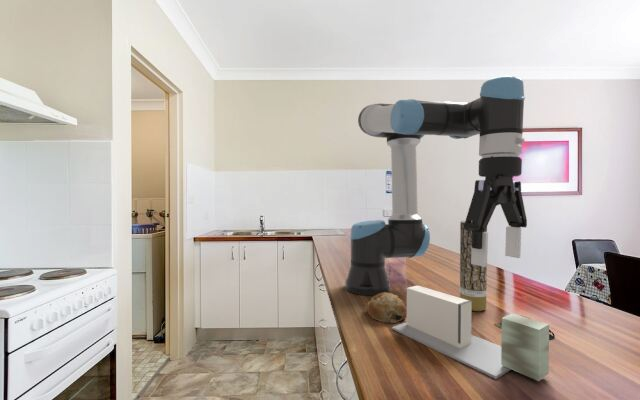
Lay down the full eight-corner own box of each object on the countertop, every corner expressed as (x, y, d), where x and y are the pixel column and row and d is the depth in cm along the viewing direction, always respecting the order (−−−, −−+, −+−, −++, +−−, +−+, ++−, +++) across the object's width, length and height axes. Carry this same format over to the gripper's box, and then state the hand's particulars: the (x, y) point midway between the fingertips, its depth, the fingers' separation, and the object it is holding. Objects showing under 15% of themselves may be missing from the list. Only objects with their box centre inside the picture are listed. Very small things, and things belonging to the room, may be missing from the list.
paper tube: (489, 313, 83) (490, 222, 83) (463, 311, 84) (463, 221, 84) (481, 304, 90) (482, 220, 89) (457, 302, 91) (457, 219, 91)
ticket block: (392, 329, 73) (392, 289, 73) (424, 318, 79) (424, 281, 79) (496, 379, 53) (496, 324, 53) (526, 358, 59) (527, 310, 59)
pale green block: (501, 364, 56) (501, 317, 56) (511, 358, 58) (512, 313, 58) (538, 381, 51) (539, 329, 51) (548, 373, 53) (549, 324, 53)
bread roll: (378, 338, 76) (387, 314, 73) (357, 308, 84) (364, 286, 81) (408, 330, 81) (418, 307, 77) (385, 302, 89) (393, 281, 86)
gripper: (486, 150, 51) (482, 274, 52) (547, 159, 65) (543, 257, 66) (446, 154, 58) (443, 264, 58) (509, 161, 72) (507, 250, 72)
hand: (496, 260), depth 62 cm, fingers open, 13 cm apart
